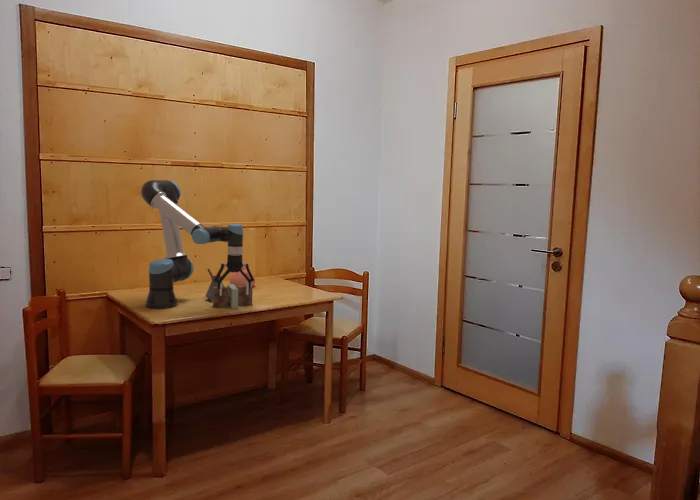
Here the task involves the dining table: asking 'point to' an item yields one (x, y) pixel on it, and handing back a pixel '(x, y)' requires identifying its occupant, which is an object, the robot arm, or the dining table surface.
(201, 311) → the dining table surface
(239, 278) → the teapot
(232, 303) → the green slotted plate
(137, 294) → the dining table surface
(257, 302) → the dining table surface
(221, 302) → the walnut slotted plate
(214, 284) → the coffee pot
